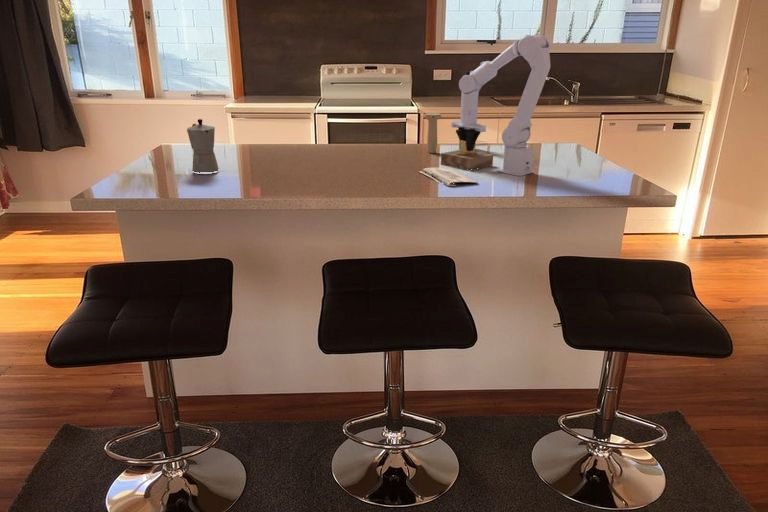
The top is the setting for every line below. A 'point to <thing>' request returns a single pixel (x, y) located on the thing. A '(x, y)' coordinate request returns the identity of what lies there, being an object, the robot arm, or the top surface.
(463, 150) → the wooden block
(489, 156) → the well block
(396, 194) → the top surface
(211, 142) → the coffeepot
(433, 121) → the handle
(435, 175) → the newspaper
